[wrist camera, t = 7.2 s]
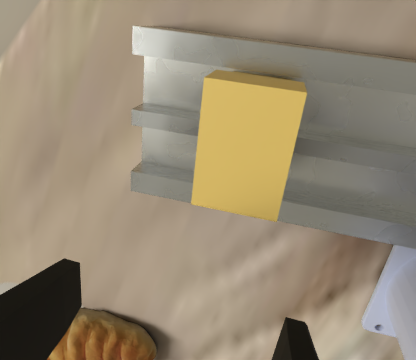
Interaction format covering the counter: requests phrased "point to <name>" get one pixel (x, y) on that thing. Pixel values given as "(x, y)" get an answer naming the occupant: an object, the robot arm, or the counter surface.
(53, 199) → the counter surface
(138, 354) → the pastry
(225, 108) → the yellow block with ridge
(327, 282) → the counter surface
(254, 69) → the rail
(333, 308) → the counter surface
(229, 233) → the counter surface
